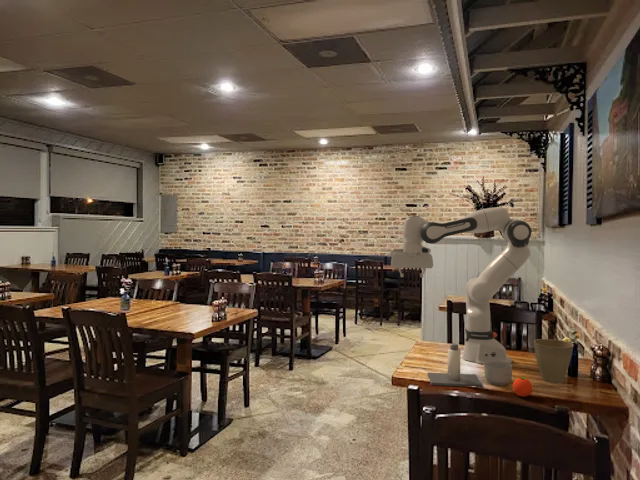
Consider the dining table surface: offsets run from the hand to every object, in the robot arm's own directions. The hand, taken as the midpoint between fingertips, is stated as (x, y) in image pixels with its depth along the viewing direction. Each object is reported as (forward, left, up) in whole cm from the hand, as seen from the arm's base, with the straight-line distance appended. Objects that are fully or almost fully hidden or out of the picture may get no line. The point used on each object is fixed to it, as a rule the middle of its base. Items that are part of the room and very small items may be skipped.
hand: (411, 277), depth 240 cm
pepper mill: (-15, +37, -38) cm, 55 cm away
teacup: (-33, +36, -39) cm, 63 cm away
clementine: (-38, +52, -39) cm, 75 cm away
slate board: (-15, +37, -39) cm, 56 cm away
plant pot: (-56, +31, -39) cm, 75 cm away
